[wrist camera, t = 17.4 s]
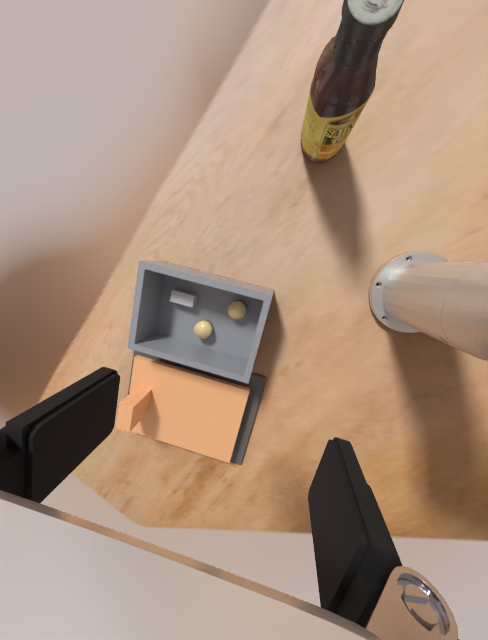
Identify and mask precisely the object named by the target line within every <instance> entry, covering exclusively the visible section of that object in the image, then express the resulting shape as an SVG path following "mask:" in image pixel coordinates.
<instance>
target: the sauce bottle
mask: <svg viewBox="0 0 488 640" xmlns="http://www.w3.org/2000/svg"><path fill="white" fill-rule="evenodd" d="M403 2H404V0H344V2H343V7H342V20H341V23H340V26H339V30H338V32H337V34H336V36H335V37H333V38H332V39H331V40H330V42H329V43H328V44H327V45H326V46H325V48H324V50H323V52H322V54H321V56H320V58H319V60H318V63H317V66H316V69H315V74H314V78H313V81H312V84H311V88H310V93H309V98H308V103H307V108H306V112H305V117H304V122H303V127H302V131H301V147H302V150H303V153H304V154H305V156H306V157H307V158H308V159H309V160H311V161H314V162H324V161H327V160H329V159H331V158H332V157H333V156H335V155H336V153H337V152H338V151H339V150H340V149H341V148H342V146H343V144H344V143H345V141H346V139H347V137H348V135H349V134H350V132H351V130H352V128H353V127H354V125H355V123H356V121H357V119H358V118H359V116H360V114H361V112H362V110H363V108H364V107H365V105H366V103H367V101H368V99H369V98H370V96H371V94H372V92H373V90H374V87H375V79H376V67H377V60H378V53H379V50H380V48H381V44H382V41H383V39H384V37H385V35H386V33H387V31H388V30H389V29H390V28H391V27H392V25H393V24H394V22H395V20H396V18H397V16H398V13H399V11H400V9H401V7H402V4H403Z"/></svg>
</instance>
